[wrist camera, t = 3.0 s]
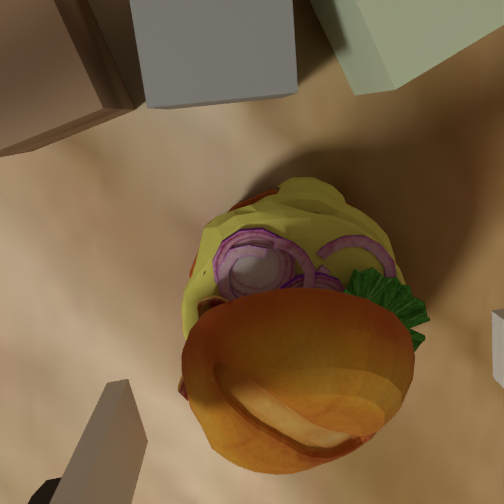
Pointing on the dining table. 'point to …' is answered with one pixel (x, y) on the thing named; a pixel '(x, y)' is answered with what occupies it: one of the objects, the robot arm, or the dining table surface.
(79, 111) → the walnut block
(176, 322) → the dining table surface
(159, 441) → the dining table surface
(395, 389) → the cheeseburger
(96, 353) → the dining table surface
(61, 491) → the robot arm
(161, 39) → the slate block
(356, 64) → the sage block
